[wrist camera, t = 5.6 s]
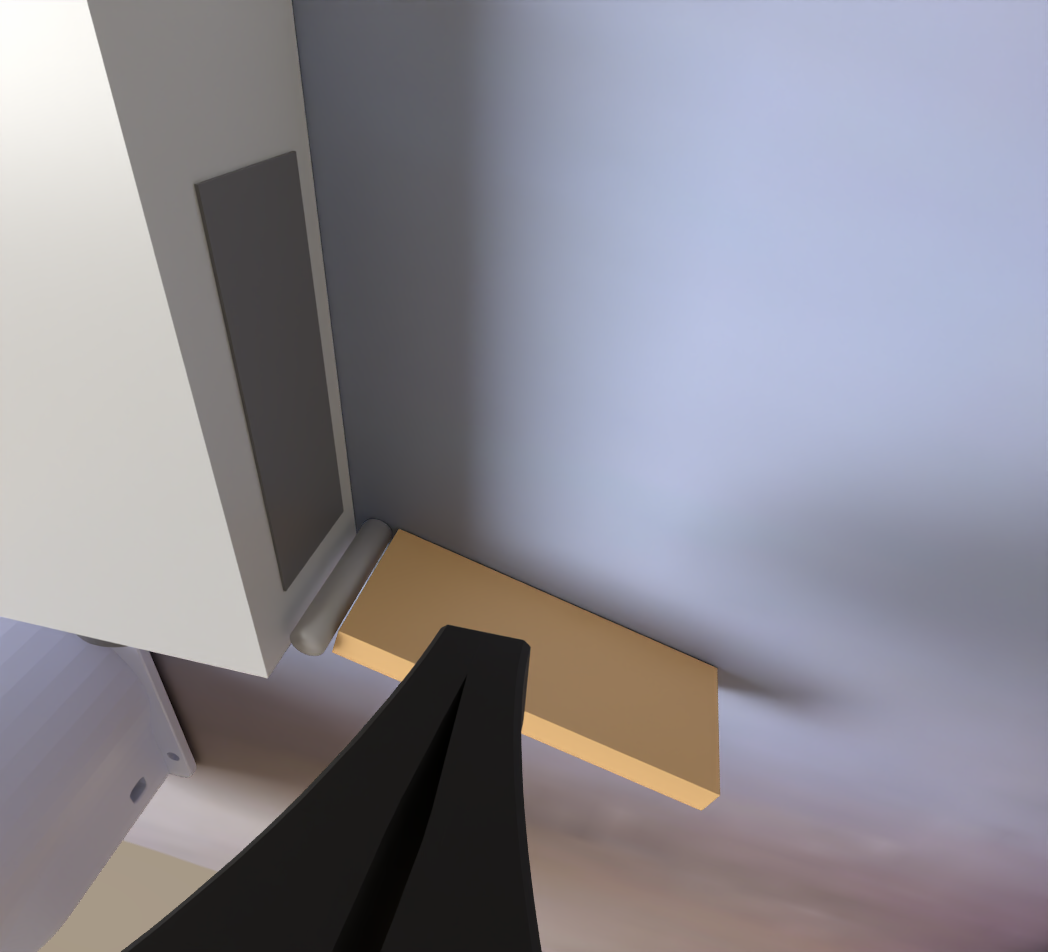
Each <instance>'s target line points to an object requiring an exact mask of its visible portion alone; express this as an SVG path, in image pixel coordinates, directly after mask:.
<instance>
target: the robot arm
mask: <svg viewBox="0 0 1048 952" xmlns="http://www.w3.org/2000/svg"><path fill="white" fill-rule="evenodd" d="M530 650H531V647H530V646H529V644H528V643H527V642H526V641H525V640H521V639H516V638H512V637H507V636H502V635H497V634H492V633H487V632H482V631H477V630H472V629H467V628H462V627H457V626H453V625H446V626H444V627H442V628H440V630H439V631H438V633H437V634H436V636H435V637H434V639H433V640H432V642H431V643H430V645H429V646H428V647H427V649H426V650H425V651H424V653H423V654H422V656H421V657H420V658H419V660H418V661H417V662H416V664H415V665H414V666H413V668H412V669H411V670H410V672H409V673H408V674H407V675H406V677H405V678H404V679H403V680H402V682H401V683H400V684H399V685H398V687H397V688H396V689H395V690H394V692H393V693H392V694H391V695H390V697H389V698H388V699H387V700H386V701H385V703H384V704H383V705H382V706H381V707H380V708H379V710H378V711H377V712H376V713H375V714H374V715H373V717H372V718H371V719H370V720H369V721H368V722H367V724H366V725H365V726H364V727H363V728H362V729H361V731H360V732H359V733H358V734H357V735H356V736H355V738H354V739H353V740H352V741H351V742H350V743H349V744H348V745H347V746H346V748H345V749H344V750H343V751H342V752H341V753H340V754H339V755H338V756H337V757H336V758H335V759H334V760H333V761H332V762H331V763H330V765H329V766H328V767H327V768H326V769H325V770H324V771H323V772H322V773H321V774H320V775H319V776H318V777H317V778H316V779H315V780H314V781H313V782H312V784H311V785H310V786H309V787H308V788H307V789H306V790H305V791H304V792H303V793H302V794H301V795H300V796H299V797H298V798H297V799H296V800H295V801H294V802H293V803H292V804H291V805H290V806H289V807H288V808H287V809H286V810H285V811H284V812H283V813H282V814H281V815H280V816H279V817H278V818H276V819H275V820H274V821H273V822H272V823H271V824H270V825H269V826H268V827H267V828H266V829H265V830H264V831H263V832H262V833H261V834H260V835H258V836H257V837H256V838H255V839H254V840H253V841H252V842H251V843H250V844H249V845H248V846H247V847H245V848H244V849H243V850H242V851H241V852H240V853H239V854H238V855H237V856H236V857H234V858H233V859H232V860H231V861H230V862H229V863H228V864H226V865H225V866H224V867H223V868H222V869H221V870H220V871H218V872H217V873H216V874H215V875H214V876H213V877H211V878H210V879H209V880H208V881H207V882H206V883H205V884H203V885H202V886H201V887H200V888H199V889H198V890H197V891H195V892H194V893H193V894H192V895H191V896H190V897H188V898H187V899H186V900H185V901H184V902H182V903H181V904H180V905H179V906H178V907H176V908H175V909H174V910H173V911H172V912H170V913H169V914H168V915H167V916H166V917H164V918H163V919H162V920H161V921H159V922H158V923H157V924H156V925H154V926H153V927H152V928H151V929H150V930H148V931H147V932H146V933H144V934H143V935H142V936H140V937H139V938H138V939H137V940H135V941H134V942H133V943H131V944H130V945H129V946H128V947H126V948H125V949H124V950H122V951H121V952H542V951H541V945H540V938H539V931H538V924H537V918H536V911H535V904H534V896H533V888H532V881H531V872H530V863H529V855H528V844H527V834H526V823H525V811H524V797H523V778H522V752H521V731H522V726H523V720H524V712H525V701H526V691H527V681H528V671H529V660H530ZM196 769H197V766H196V763H195V760H194V758H193V756H192V753H191V751H190V748H189V746H188V744H187V741H186V739H185V736H184V734H183V732H182V729H181V727H180V724H179V722H178V720H177V717H176V715H175V712H174V710H173V708H172V705H171V703H170V700H169V698H168V695H167V693H166V691H165V688H164V686H163V683H162V681H161V679H160V676H159V674H158V671H157V669H156V667H155V664H154V662H153V659H152V657H151V655H150V652H149V651H147V650H143V649H138V648H134V647H130V646H127V647H102V646H97V645H93V644H90V643H88V642H86V641H84V640H82V639H81V638H79V637H78V636H77V635H76V634H74V633H69V632H65V631H61V630H56V629H52V628H48V627H43V626H39V625H35V624H30V623H26V622H22V621H17V620H13V619H9V618H4V617H0V952H37V951H38V950H39V949H41V947H43V946H44V945H45V944H46V943H47V942H48V941H49V940H50V939H51V938H52V937H53V936H54V935H55V934H56V932H57V931H58V930H59V929H60V928H61V927H62V925H63V924H64V923H65V921H66V920H67V919H68V917H69V916H70V915H71V913H72V912H73V910H74V909H75V908H76V906H77V905H78V903H79V902H80V900H81V899H82V898H83V896H84V895H85V893H86V892H87V890H88V889H89V887H90V886H91V885H92V883H93V882H94V880H95V879H96V878H97V876H98V875H99V873H100V872H101V870H102V869H103V868H104V866H105V865H106V863H107V862H108V860H109V859H110V858H111V856H112V855H113V853H114V852H115V850H116V849H117V847H118V846H119V844H120V843H121V842H122V840H123V839H124V838H125V836H126V835H127V833H128V832H129V830H130V829H131V828H132V826H133V825H134V823H135V822H136V820H137V819H138V818H139V816H140V815H141V813H142V812H143V810H144V809H145V808H146V806H147V805H148V803H149V802H150V800H151V799H152V798H153V796H154V795H155V793H156V792H157V790H158V789H159V788H160V786H161V785H162V783H163V782H164V781H165V779H166V778H167V776H168V775H169V774H172V775H176V776H180V777H185V778H187V777H191V776H192V775H193V773H194V772H195V770H196Z"/></svg>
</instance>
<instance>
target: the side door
mask: <svg viewBox="0 0 1048 952" xmlns="http://www.w3.org/2000/svg"><path fill="white" fill-rule="evenodd" d="M391 538H392V531H391V529H390V528H389V526H388V525H387V524H386V523H384V522H383V521H380V520H377V519H369V520H367V521H365V522H364V524H363V525H362V527H361V528H360V530H359V531H358V533H357V534H356V536H355V537H354V539H353V540H352V542H351V543H350V545H349V546H348V548H347V549H346V551H345V553H344V554H343V556H342V557H341V559H340V560H339V562H338V563H337V565H336V566H335V568H334V569H333V571H332V572H331V574H330V575H329V577H328V578H327V580H326V581H325V583H324V584H323V586H322V587H321V589H320V590H319V592H318V593H317V595H316V596H315V598H314V599H313V601H312V602H311V604H310V605H309V607H308V608H307V610H306V611H305V613H304V614H303V616H302V617H301V619H300V620H299V622H298V623H297V625H296V626H295V628H294V629H293V631H292V632H291V634H290V641H291V643H292V645H293V646H294V647H295V648H296V649H297V650H299V651H300V652H302V653H304V654H307V655H310V656H319V655H321V654H323V653H324V651H325V650H326V648H327V646H328V644H329V643H330V641H331V639H332V638H333V636H334V634H335V633H336V631H337V629H338V628H339V626H340V624H341V623H342V621H343V619H344V617H345V616H346V614H347V612H348V611H349V609H350V607H351V606H352V604H353V602H354V601H355V599H356V597H357V596H358V594H359V592H360V590H361V589H362V587H363V585H364V584H365V582H366V580H367V579H368V577H369V575H370V574H371V572H372V570H373V568H374V567H375V565H376V563H377V562H378V560H379V558H380V557H381V555H382V553H383V552H384V550H385V548H386V547H387V545H388V543H389V541H390V540H391ZM446 625H453V626H457V627H462V628H467V629H472V630H477V631H482V632H487V633H492V634H497V635H502V636H507V637H512V638H516V639H521V640H525V641H526V642H527V643H528V644H529V646H530V647H531V650H530V660H529V671H528V681H527V691H526V701H525V712H524V720H523V726H522V731H521V733H522V734H524V735H526V736H529V737H531V738H533V739H536V740H538V741H540V742H543V743H545V744H547V745H550V746H552V747H554V748H557V749H559V750H561V751H564V752H566V753H568V754H571V755H573V756H575V757H577V758H580V759H582V760H584V761H587V762H589V763H591V764H594V765H596V766H598V767H601V768H603V769H605V770H608V771H610V772H612V773H615V774H617V775H619V776H622V777H624V778H626V779H629V780H631V781H633V782H636V783H638V784H640V785H643V786H645V787H647V788H650V789H652V790H654V791H657V792H659V793H661V794H664V795H666V796H668V797H671V798H673V799H675V800H678V801H680V802H682V803H685V804H687V805H689V806H692V807H694V808H696V809H699V810H701V811H702V810H703V809H704V808H705V807H707V806H708V805H709V804H710V803H711V802H713V801H714V800H715V799H716V798H717V797H719V796H720V769H719V723H718V677H717V668H716V667H713V666H711V665H709V664H707V663H704V662H702V661H700V660H697V659H695V658H693V657H691V656H688V655H686V654H684V653H681V652H679V651H677V650H675V649H672V648H670V647H668V646H665V645H663V644H661V643H659V642H656V641H654V640H652V639H649V638H647V637H645V636H643V635H640V634H638V633H636V632H634V631H631V630H629V629H627V628H624V627H622V626H620V625H618V624H615V623H613V622H611V621H608V620H606V619H604V618H602V617H599V616H597V615H595V614H592V613H590V612H588V611H586V610H583V609H581V608H579V607H577V606H574V605H572V604H570V603H567V602H565V601H563V600H561V599H558V598H556V597H554V596H551V595H549V594H547V593H545V592H542V591H540V590H538V589H535V588H533V587H531V586H529V585H526V584H524V583H522V582H520V581H517V580H515V579H513V578H510V577H508V576H506V575H504V574H501V573H499V572H497V571H494V570H492V569H490V568H488V567H485V566H483V565H481V564H478V563H476V562H474V561H472V560H469V559H467V558H465V557H463V556H460V555H458V554H456V553H453V552H451V551H449V550H447V549H444V548H442V547H440V546H437V545H435V544H433V543H431V542H428V541H426V540H424V539H421V538H419V537H417V536H415V535H412V534H410V533H408V532H406V531H403V530H401V529H398V531H397V533H396V534H395V536H394V538H393V539H392V541H391V543H390V544H389V546H388V548H387V550H386V551H385V553H384V555H383V556H382V558H381V560H380V561H379V563H378V565H377V567H376V568H375V570H374V572H373V573H372V575H371V577H370V578H369V580H368V582H367V584H366V585H365V587H364V589H363V590H362V592H361V594H360V595H359V597H358V599H357V601H356V602H355V604H354V606H353V607H352V609H351V611H350V612H349V614H348V616H347V618H346V619H345V621H344V623H343V624H342V626H341V628H340V629H339V631H338V634H337V638H336V641H335V644H334V647H333V651H332V652H333V653H335V654H337V655H340V656H342V657H344V658H347V659H349V660H351V661H354V662H356V663H358V664H361V665H363V666H365V667H368V668H370V669H372V670H375V671H377V672H379V673H382V674H384V675H386V676H389V677H391V678H393V679H396V680H398V681H400V682H402V680H403V679H404V678H405V677H406V675H407V674H408V673H409V672H410V670H411V669H412V668H413V666H414V665H415V664H416V662H417V661H418V660H419V658H420V657H421V656H422V654H423V653H424V651H425V650H426V649H427V647H428V646H429V645H430V643H431V642H432V640H433V639H434V637H435V636H436V634H437V633H438V631H439V630H440V628H442V627H444V626H446Z"/></svg>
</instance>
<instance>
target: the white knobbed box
mask: <svg viewBox="0 0 1048 952" xmlns="http://www.w3.org/2000/svg"><path fill="white" fill-rule="evenodd" d="M355 536H356V526H355V518H354V510H353V501H352V493H351V485H350V477H349V469H348V460H347V452H346V444H345V436H344V427H343V419H342V411H341V403H340V394H339V386H338V378H337V370H336V361H335V353H334V345H333V337H332V329H331V320H330V312H329V304H328V296H327V287H326V279H325V271H324V263H323V254H322V246H321V238H320V230H319V222H318V213H317V205H316V197H315V189H314V180H313V172H312V164H311V156H310V147H309V139H308V131H307V123H306V114H305V106H304V98H303V90H302V82H301V73H300V65H299V57H298V49H297V40H296V32H295V24H294V16H293V7H292V0H0V617H4V618H9V619H13V620H17V621H22V622H26V623H30V624H35V625H39V626H43V627H48V628H52V629H56V630H61V631H65V632H69V633H74V634H76V635H77V636H78V637H79V638H81V639H82V640H84V641H86V642H88V643H90V644H93V645H97V646H102V647H127V646H130V647H134V648H138V649H143V650H147V651H151V652H156V653H160V654H164V655H169V656H173V657H177V658H182V659H186V660H190V661H195V662H199V663H203V664H208V665H212V666H216V667H221V668H225V669H229V670H234V671H238V672H242V673H247V674H251V675H255V676H259V677H264V678H269V676H270V675H271V673H272V672H273V670H274V669H275V667H276V666H277V664H278V662H279V661H280V659H281V658H282V656H283V655H284V653H285V652H286V650H287V649H288V647H289V646H290V644H291V641H290V634H291V632H292V631H293V629H294V628H295V626H296V625H297V623H298V622H299V620H300V619H301V617H302V616H303V614H304V613H305V611H306V610H307V608H308V607H309V605H310V604H311V602H312V601H313V599H314V598H315V596H316V595H317V593H318V592H319V590H320V589H321V587H322V586H323V584H324V583H325V581H326V580H327V578H328V577H329V575H330V574H331V572H332V571H333V569H334V568H335V566H336V565H337V563H338V562H339V560H340V559H341V557H342V556H343V554H344V553H345V551H346V549H347V548H348V546H349V545H350V543H351V542H352V540H353V539H354V537H355Z"/></svg>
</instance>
